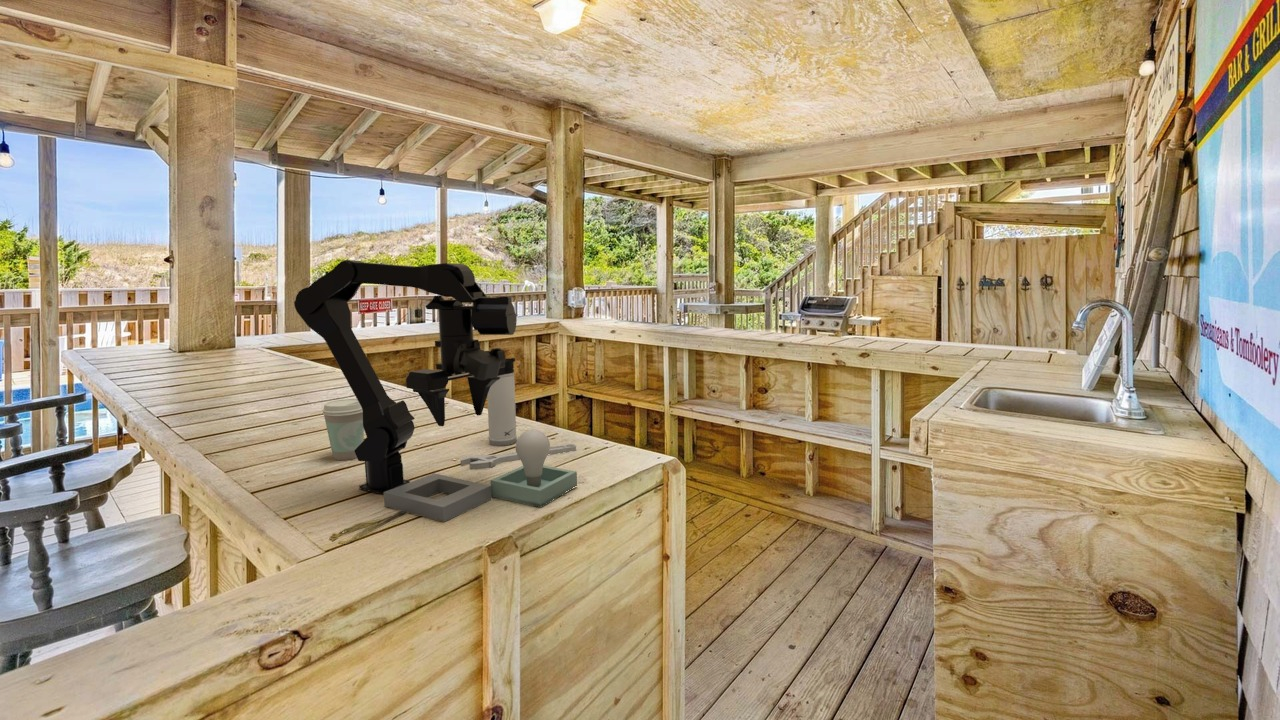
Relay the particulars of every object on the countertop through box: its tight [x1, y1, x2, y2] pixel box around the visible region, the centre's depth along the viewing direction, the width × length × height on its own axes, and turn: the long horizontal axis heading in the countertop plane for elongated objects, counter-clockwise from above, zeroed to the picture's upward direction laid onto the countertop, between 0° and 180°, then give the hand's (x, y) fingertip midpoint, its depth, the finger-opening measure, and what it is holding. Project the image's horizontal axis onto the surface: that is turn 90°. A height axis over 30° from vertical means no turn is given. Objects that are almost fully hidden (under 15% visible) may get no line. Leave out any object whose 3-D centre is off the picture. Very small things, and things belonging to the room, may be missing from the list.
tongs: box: [329, 510, 408, 545], centre depth 93 cm, size 4×13×2 cm, turn 155°
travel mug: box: [486, 357, 517, 447], centre depth 138 cm, size 6×7×20 cm
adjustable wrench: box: [460, 443, 577, 470], centre depth 127 cm, size 25×6×2 cm, turn 115°
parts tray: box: [489, 464, 578, 508], centre depth 108 cm, size 11×11×3 cm
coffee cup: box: [321, 398, 365, 461], centre depth 129 cm, size 9×8×12 cm
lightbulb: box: [514, 429, 551, 487], centre depth 107 cm, size 6×6×11 cm
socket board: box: [383, 472, 492, 523], centre depth 103 cm, size 14×11×2 cm
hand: (460, 420), depth 108 cm, fingers open, 9 cm apart
